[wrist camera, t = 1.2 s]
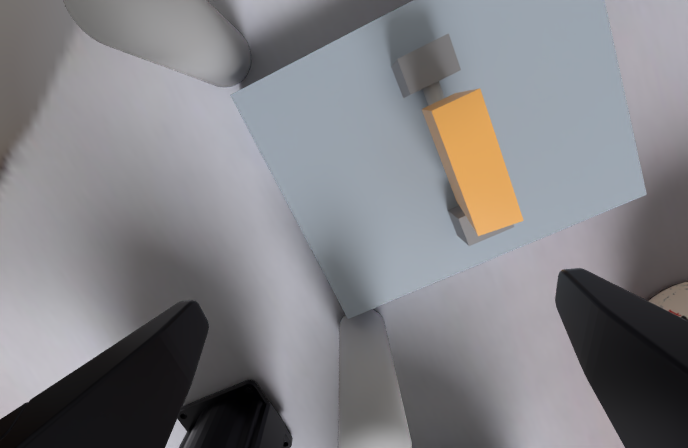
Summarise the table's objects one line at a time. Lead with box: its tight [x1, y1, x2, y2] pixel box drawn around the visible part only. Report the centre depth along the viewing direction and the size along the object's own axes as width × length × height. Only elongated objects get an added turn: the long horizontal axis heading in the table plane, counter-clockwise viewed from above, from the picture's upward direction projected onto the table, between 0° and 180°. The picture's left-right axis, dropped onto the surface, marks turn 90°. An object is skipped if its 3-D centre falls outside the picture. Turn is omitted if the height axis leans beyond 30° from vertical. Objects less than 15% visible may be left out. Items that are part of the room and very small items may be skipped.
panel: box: [230, 0, 647, 319], centre depth 18 cm, size 18×14×4 cm
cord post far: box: [338, 309, 412, 448], centre depth 19 cm, size 3×3×9 cm
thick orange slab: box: [422, 88, 524, 236], centre depth 13 cm, size 2×5×5 cm, turn 25°
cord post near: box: [63, 0, 251, 87], centre depth 14 cm, size 3×3×9 cm
